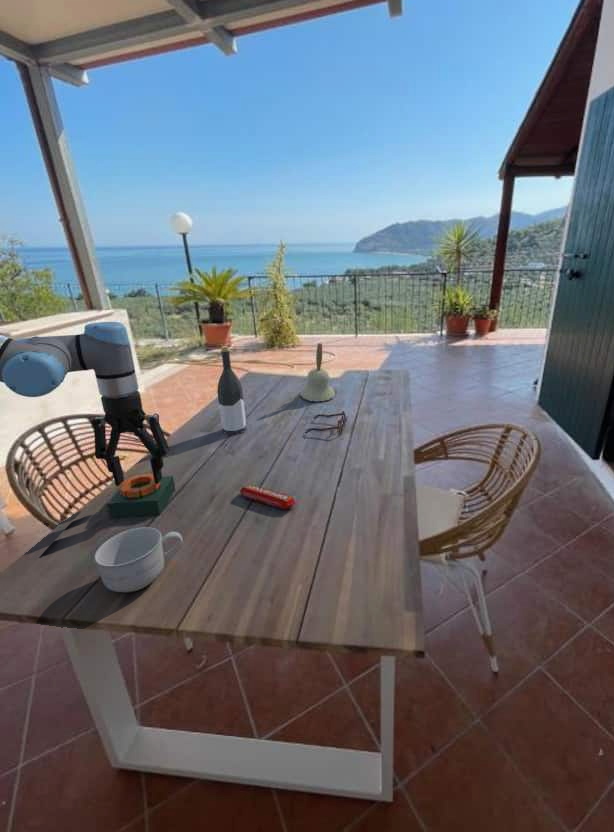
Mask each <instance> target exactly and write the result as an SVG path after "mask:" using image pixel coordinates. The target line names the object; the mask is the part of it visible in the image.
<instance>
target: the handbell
mask: <svg viewBox="0 0 614 832" xmlns="http://www.w3.org/2000/svg"><path fill="white" fill-rule="evenodd" d="M315 355H316V356H315V361H316V367H313V368H312V369H310V370H309V371H308V373H307V378H306V379H307V383H306V385H304V386H303V387H301V389H300V391H299V394H300V397H301V398H303V399H304V400H306V401H308V400H309V401H308V402H312V401H322V400H327V399H330V398H332V399H334V397H335V396H336V392H335V389H334V388H332V387H331V386H330V374H329V372H328V371H327V370H325V369H324V368H322V363H323V344H322V343H321V342H319V343H317V345H316V352H315Z"/></svg>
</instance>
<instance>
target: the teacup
mask: <svg viewBox="0 0 614 832" xmlns="http://www.w3.org/2000/svg"><path fill="white" fill-rule="evenodd" d="M172 539H176V543H175V545H174V546H173V547H172V548H171V549H170V550H168V551H165V549H166V545H167V542H168V541H169V540H172ZM183 543H184V539H183V536H182V535H181V533H179V532H177V531H170V532H167V533H166V534H164V535H163V536H162V533H161V531H160V530H159V529H158V528H155V527H151V526H150V527H149V526H145V527H143V526H142V527H136V528H131V529H127V530H125V531H122V532H120V533H118V534H115V535H113V536H112V537H110V538H109V539H107V540H105V542H103V543H102V544H101V545H100V546H99V547H98V549H97V550H96V552H95V554H94V562H95V564H96V566H97V569H98V572H99V575H100V579H101V581H102V582H103V584H104V586H105V587H106V588H107V589H109V590H110V591H112V592H116V593H133V592H136V591H140V590H142V589H144V588H145V587H147V586H149V585H150V584H152V583H153V582H154V581H155V580H156V579H157V578H158V576H159V575H160V574H162V571H163V570H164V567H165V566H166V565H165V564H166V563H167V562H168V561H169V560H170V559H171V557H172V556H174V555H175V554H177V552H178V551H179V550H180V549H181V548H182V545H183Z"/></svg>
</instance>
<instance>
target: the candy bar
mask: <svg viewBox="0 0 614 832" xmlns="http://www.w3.org/2000/svg"><path fill="white" fill-rule="evenodd" d="M238 493H240V495H241V496H243V497H245V498H248V499H251V500H254V501H256V502H259V503H262V504H267V505H269V506H272V507H276V508H279V509H283V510H286V509H289V508H291V507H293V506H294V505H297V502H296V501H295V499H294V497H293V496H290V495H287V494H285V493H281V492H277V491H275V490H272V489H269V488H265V487H261V486H259V485H256V484H247V485H245V486H243V487H242V488H241V489H240V490H239V492H238Z"/></svg>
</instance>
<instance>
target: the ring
mask: <svg viewBox="0 0 614 832" xmlns="http://www.w3.org/2000/svg"><path fill="white" fill-rule="evenodd" d="M144 482H150V483H149V484H148V485H146V486H143V487H141V488H131V487H132V486H134V485H136V484H139V483H144ZM159 485H160V482H159V483H158V484H155V481H154V476H153V473H141V474H136V475H133V476H131V477H128V478H126V479H124V481H123V482H122V483H121V484H120V485H119V486H118V490H119V489H120V493H121V494H122V495H123V496H124V497H128V498H134V497H140V496H141V495H142V496H145V495H147V494H150V493H152V492H154V490H157V488H158V487H159Z"/></svg>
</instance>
